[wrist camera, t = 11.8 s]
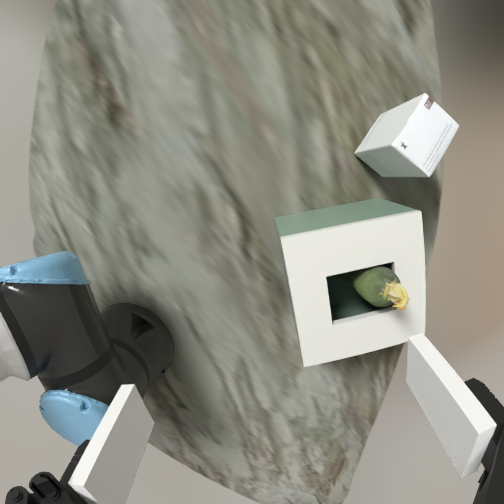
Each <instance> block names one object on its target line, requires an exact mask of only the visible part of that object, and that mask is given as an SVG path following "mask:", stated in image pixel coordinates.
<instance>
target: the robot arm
mask: <svg viewBox="0 0 504 504" xmlns="http://www.w3.org/2000/svg"><path fill="white" fill-rule="evenodd" d="M89 284H90V282H89V280H87V278H86V276H85V273H84V271H83V268H82V266H81V263H80V261H79V259H78V257H77V256H76V255H75V254H73V253H71V252H67V251H65V252H58V253H54V254H49V255H45V256H41V257H37V258H33V259H29V260H25V261H21V262H17V263H14V264H10V265H7V266H4V267H1V268H0V382H1V381H3V380H4V379H6V378H8V377H9V376H14V377H17V378H20V379H24V380H26V381H28V380H30V379H31V378H33V377H35V376H36V375H37V376H38V378H39V380H40V381H41V383H42V385H43V387H44V389H45V392H44V393H43V394H42V395H41V400H40V406H39V407H40V411H41V414H42V416H43V418H44V419H45V421H46V422H47V423H48V425H49V426H50V427H51V428H52V429H53V430H55V431H56V432H57V433H58V434H59V435H61V436H62V437H63V438H65V439H67V440H68V441H70V442H72V443H74V444H76V445H78V446H79V447H78V449H77V451H76V452H75V454H74V455H75V456H73V458H72V460H71V462H70V463H69V465H68V467H67V469H66V470H65V472H64V474H63V476H62V478H61V480H60V481H58V480H57V479H56V478H55V477H54V476H53V475H52V474H51V473H49V472H40V473H38V474H36V475H35V476H34V477H33V478H32V479H31V481H30V483H29V488H30V489H31V490H32V491H33V492H34V493H29V492H28V491H27V490H26V489H25V488H24V487H22V486H17V487H13V488H12V489H11V490H10V491H9V492H8V493H7V496H6V501H5V504H125V503H126V501H127V498H128V495H129V492H130V489H131V486H132V484H133V481H134V478H135V475H136V472H137V469H138V467H139V464H140V461H141V459H142V456H143V453H144V450H145V447H146V445H147V442H148V439H149V437H150V434H151V431H152V429H153V426H154V421H153V420H152V418H151V416H150V414H149V412H148V410H147V408H146V406H145V404H144V402H143V397H144V395H145V393H146V390H147V388H148V387H149V386H150V385H151V384H153V383H154V382H155V381H157V380H158V379H159V378H160V377H162V376H163V375H164V374H165V372H166V371H167V370H168V368H169V366H170V363H171V361H172V358H173V353H174V346H173V341H172V338H171V335H170V333H169V331H168V329H167V328H166V326H165V325H164V324H163V322H162V321H161V320H160V319H159V318H158V317H157V316H156V315H154V314H153V313H152V312H150V311H149V310H147V309H145V308H143V307H140V306H138V305H134V304H129V303H119V304H114V305H111V306H109V307H107V308H106V309H105V310H103V311H102V312H101V313H100V312H99V309H98V307H97V304H96V302H95V299H94V296H93V294H92V291H91V288H90V285H89ZM406 383H407V385H408V386H409V388H410V390H411V391H412V393H413V395H414V396H415V398H416V400H417V401H418V403H419V405H420V406H421V408H422V410H423V412H424V413H425V415H426V417H427V418H428V420H429V422H430V424H431V426H432V427H433V429H434V431H435V433H436V434H437V436H438V438H439V440H440V442H441V443H442V445H443V447H444V449H445V451H446V453H447V454H448V456H449V458H450V460H451V462H452V464H453V465H454V468H455V469H456V471H457V473H458V475H459V477H460V478H463V477H465V476H467V475H469V474H471V473H473V472H475V471H477V470H478V468H479V466H480V463H482V464H483V466H484V468H485V470H484V472H483V474H482V476H481V478H480V480H479V481H478V483H480V484H479V487H478V490H477V493H476V496H475V499H474V502H473V504H504V407H503V406H502V405H501V403H500V402H499V401H498V400H497V398H495V396H494V395H493V394H492V393H491V392H490V390H489V389H488V388H487V387H486V386H485V384H483V383H482V382H480V381H479V380H476V379H475V378H472V379H470V380H468V381H465V382H463V381H462V379H461V378H460V377H459V376H458V375H457V373H456V372H455V371H454V370H453V368H452V367H451V366H450V365H449V364H448V362H447V361H446V360H445V359H444V358H443V357H442V355H441V354H440V353H439V352H438V351H437V349H436V348H435V347H434V346H433V345H432V344H431V342H430V341H429V340H428V339H427V338H426V337H425V335H424V334H423V333H421V334H417V335H414V336H411V337H408V356H407V376H406Z"/></svg>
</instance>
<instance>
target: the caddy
mask: <svg viewBox="0 0 504 504" xmlns="http://www.w3.org/2000/svg"><path fill="white" fill-rule="evenodd" d="M275 223H276V228H277V233H278V238H279V243H280V248H281V253H282V258H283V263H284V268H285V274H286V279H287V284H288V289H289V295H290V300H291V305H292V311H293V316H294V321H295V326H296V330H297V335H298V340H299V345H300V350H301V354H302V359H303V364H304V367H307V366H312V365H316V364H321V363H326V362H330V361H335V360H339V359H343V358H348V357H352V356H356V355H360V354H364V353H368V352H372V351H375V350H379V349H383V348H387V347H390V346H394V345H397V344H401V343H404V342H408V337H411V336H414V335H417V334H421V333H423V334H424V335H425V313H426V312H425V310H426V281H425V253H424V237H423V224H422V213H421V211H419V210H416V209H413V208H410V207H407V206H404V205H400V204H397V203H394V202H391V201H387V200H384V199H381V198H375V199H369V200H364V201H358V202H353V203H347V204H342V205H337V206H331V207H326V208H321V209H316V210H311V211H305V212H300V213H295V214H290V215H285V216H280V217H275ZM377 265H380V266H383V267H386V268H389V269H391V270H392V271H393V272H394V273H395V274H396V275H397V277H398V278H399V280H400V284H401V285H402V286H404V288H405V289H406V291H407V293H408V298H410V300H409V301H408V304H407V305H406V308H405V310H399V308H396V307H393V305H396V304H394V303H393V304H392V305H390V306H385V307H377V306H374V305H373V304H371V303H369V302H368V301H367V300H365V299H364V298H363V297H362V296H361V295H360V294H359V293H358V292H357V291H356V289H355V288H354V286H353V285H352V284H350V283H349V282H347V281H345V280H343V279H342V278H340V277H338V276H337V275H336V274H341V273H345V272H350V271H355V270H359V269H364V268H368V267H373V266H377ZM392 307H393V308H392ZM398 310H399V311H398Z"/></svg>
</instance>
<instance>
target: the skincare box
mask: <svg viewBox="0 0 504 504" xmlns="http://www.w3.org/2000/svg"><path fill="white" fill-rule="evenodd" d="M458 128H459V125H458V124H457V123H456V122H455V121H454V120H453V119H452V118H451V117H450V116H449V115H448V114H447V113H446V112H445V111H444V110H443V109H442V108H441V107H440V106H439V105H438V104H436V103H435V102H434V101H433V100H432V99H431V98H430V97H429V96H428V95H427V94H426V93H424V94H422V95H420V96H418V97H416V98H414V99H412V100H410V101H408V102H406V103H404V104H401V105H399V106H397V107H395V108H393V109H391V110H389V111H387V112H385V113H383V114H381V115H380V116H379V117H378V119H377V120H376V122H375V123H374V124H373V126H372V127H371V129H370V130H369V132H368V133H367V135H366V136H365V138H364V139H363V141H362V142H361V144H360V146H359V147H358V149H357V150H356V151H355V153H354V154H355V155H356V156H357V157H359V158H360V159H361V160H362V161H364V162H365V163H366V164H367V165H369V166H370V167H371V168H372V169H373V170H375V171H376V172H377V173H378V174H379V175H381V176H382V177H430V176H431V174H432V173H433V171H434V169H435V168H436V166H437V165H438V163H439V161H440V159H441V158H442V156H443V154H444V153H445V151H446V149H447V147H448V146H449V144H450V142H451V140H452V138H453V137H454V135H455V133H456V131H457V129H458Z"/></svg>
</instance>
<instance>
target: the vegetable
mask: <svg viewBox="0 0 504 504" xmlns="http://www.w3.org/2000/svg"><path fill="white" fill-rule="evenodd" d="M336 275H337V276H338V277H340V278H342V279H343V280H345V281H347V282H349V283H350V284H352V285H353V286H354V288H355V289H356V291H357V292H358V293H359V294H360V295H361V296H362V297H363V298H364V299H365V300H367V301H368V302H369V303H371V304H373V305H374V306H377V307H385V306H390V305H392V304H393V303H394V304H396V305H393V307H396V308H399V310H405V308H406V305H407V304H408V301H409V300H410V298H408V293H407V291H406V289H405V288H404V286H402V285H401V284H400V280H399V278H398V277H397V275H396V274H395V273H394V272H393V271H392V270H391V269H389V268H386V267H383V266H380V265H377V266H373V267H368V268H364V269H359V270H355V271H350V272H345V273H341V274H336ZM393 307H392V308H393ZM399 310H398V311H399Z"/></svg>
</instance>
